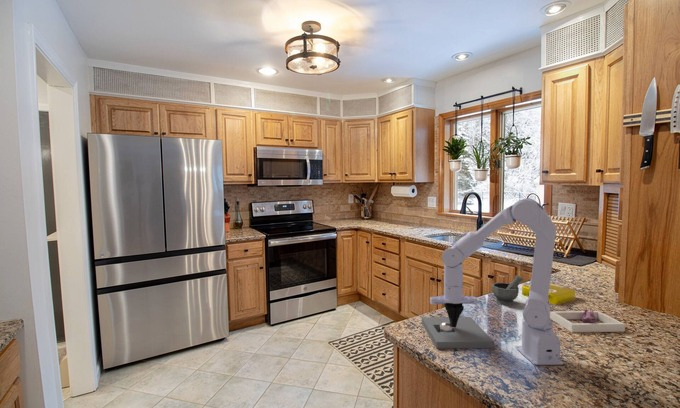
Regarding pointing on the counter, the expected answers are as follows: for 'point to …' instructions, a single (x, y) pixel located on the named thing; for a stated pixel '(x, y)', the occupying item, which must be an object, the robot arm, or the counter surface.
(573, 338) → the counter surface
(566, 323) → the vegetable tray
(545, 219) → the robot arm
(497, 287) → the mortar and pestle
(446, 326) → the steel ball
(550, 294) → the element tile
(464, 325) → the hole board
